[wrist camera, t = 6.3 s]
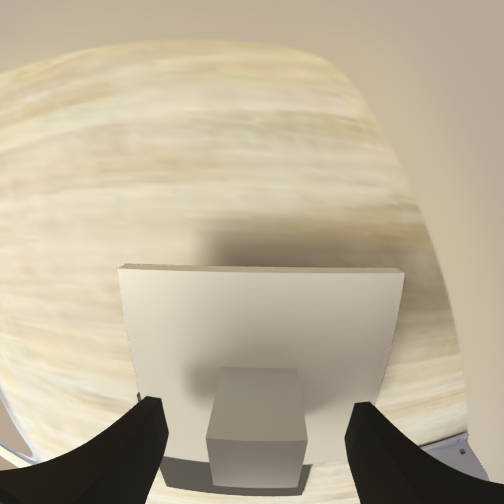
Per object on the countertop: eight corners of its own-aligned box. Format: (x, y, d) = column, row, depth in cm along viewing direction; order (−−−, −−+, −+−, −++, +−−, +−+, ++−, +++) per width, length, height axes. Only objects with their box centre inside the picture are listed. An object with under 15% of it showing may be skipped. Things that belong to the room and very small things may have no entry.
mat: (323, 403, 18) (324, 406, 17) (301, 492, 20) (301, 495, 20) (138, 392, 18) (136, 395, 18) (167, 483, 21) (166, 486, 20)
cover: (396, 267, 11) (463, 313, 6) (352, 449, 13) (369, 513, 8) (126, 263, 11) (55, 306, 6) (161, 445, 13) (139, 507, 9)
